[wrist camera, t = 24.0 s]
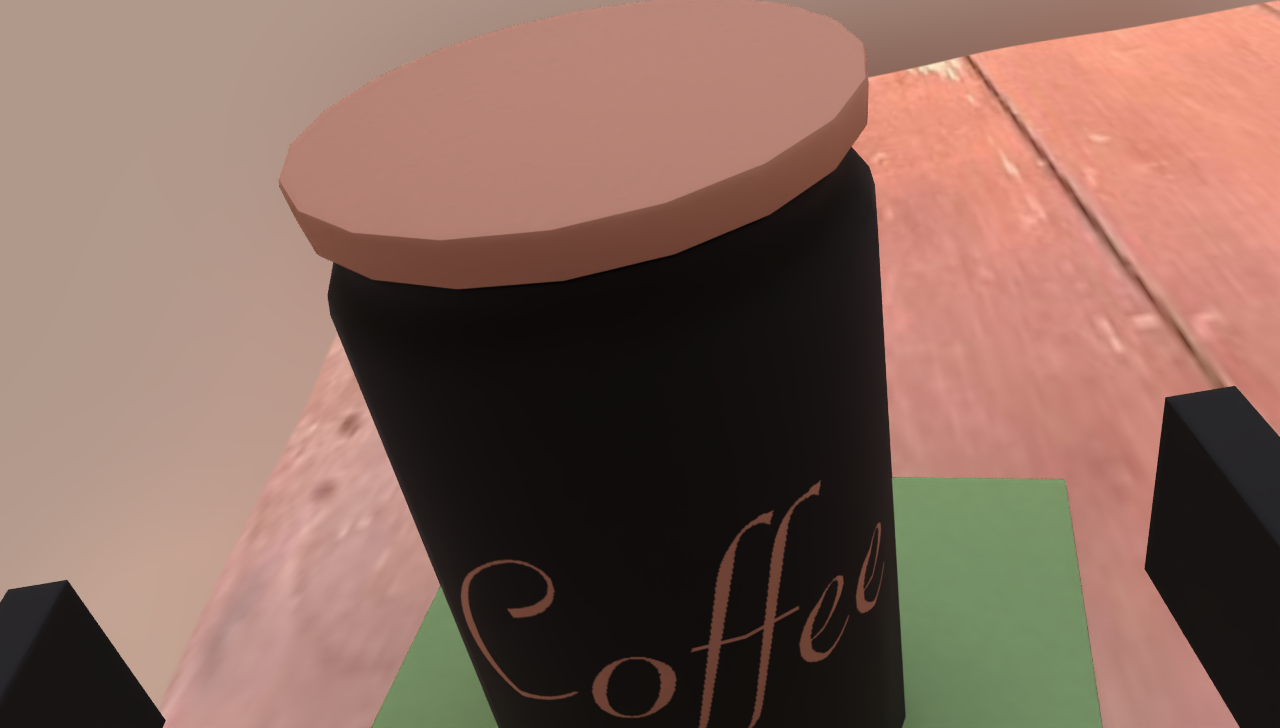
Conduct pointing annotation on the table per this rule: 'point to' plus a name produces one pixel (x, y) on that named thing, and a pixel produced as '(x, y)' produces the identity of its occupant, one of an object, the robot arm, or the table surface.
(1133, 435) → the table surface
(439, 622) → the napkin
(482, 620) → the coffee jar
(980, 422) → the table surface
